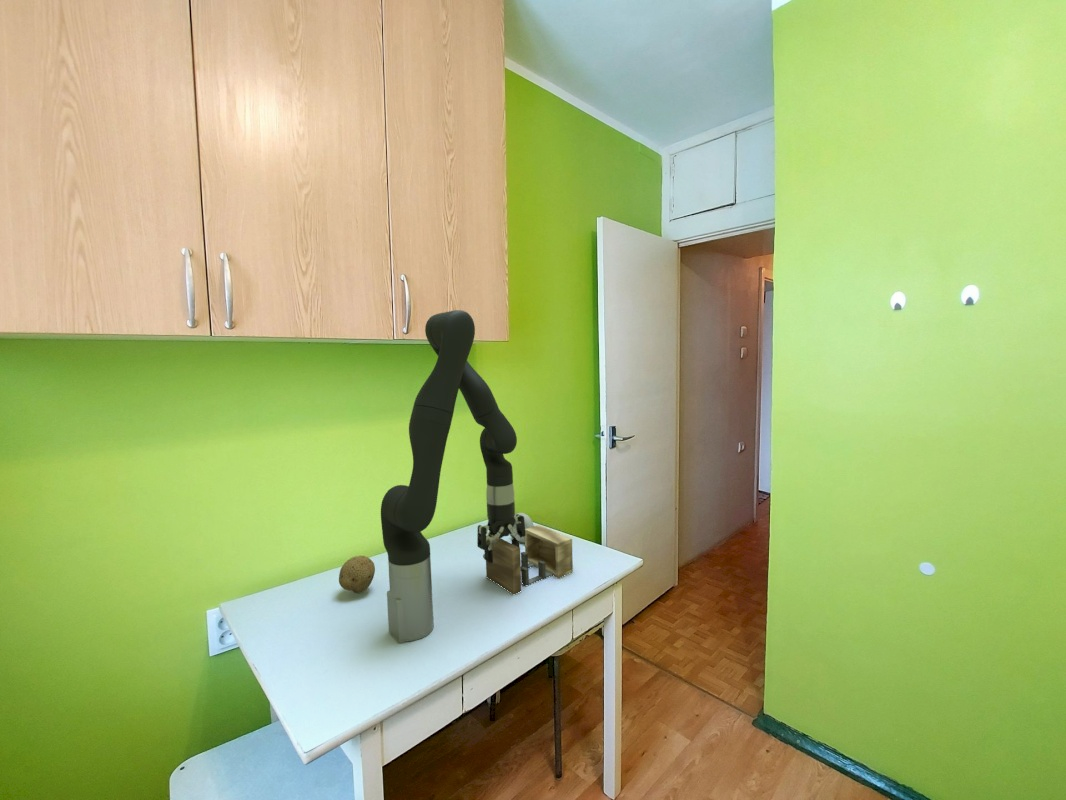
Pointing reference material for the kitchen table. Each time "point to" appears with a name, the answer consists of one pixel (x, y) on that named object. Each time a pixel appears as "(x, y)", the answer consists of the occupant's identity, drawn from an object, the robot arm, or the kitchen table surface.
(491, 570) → the door
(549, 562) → the cabinet
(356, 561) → the brown potato
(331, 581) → the kitchen table surface
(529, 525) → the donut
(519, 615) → the kitchen table surface
